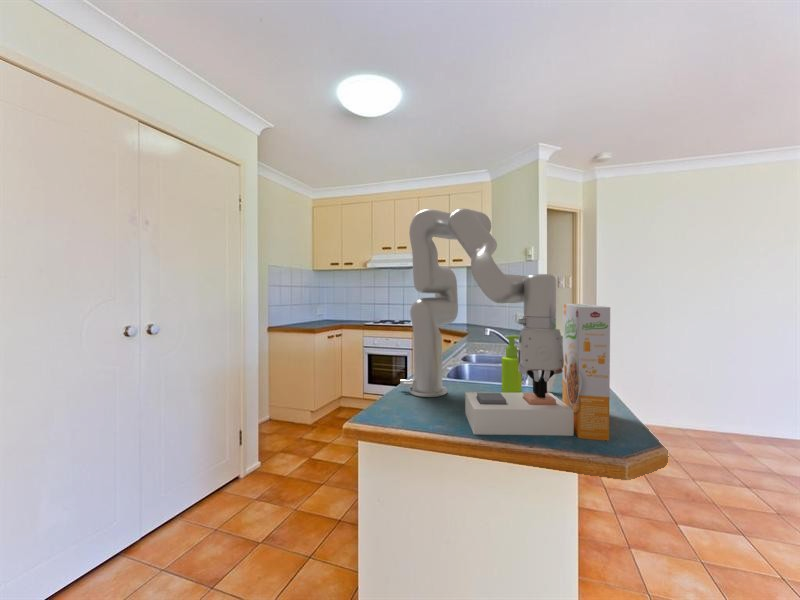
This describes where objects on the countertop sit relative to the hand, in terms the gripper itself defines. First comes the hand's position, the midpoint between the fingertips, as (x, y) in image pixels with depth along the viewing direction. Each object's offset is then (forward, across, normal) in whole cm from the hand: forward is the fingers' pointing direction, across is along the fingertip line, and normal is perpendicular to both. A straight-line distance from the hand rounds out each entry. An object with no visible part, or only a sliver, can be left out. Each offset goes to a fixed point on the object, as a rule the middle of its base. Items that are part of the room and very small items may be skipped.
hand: (539, 396), depth 90 cm
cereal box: (+8, +12, +2) cm, 14 cm away
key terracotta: (+4, 0, 0) cm, 4 cm away
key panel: (+7, -6, 0) cm, 10 cm away
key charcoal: (+4, -12, 0) cm, 13 cm away
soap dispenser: (+7, -1, +20) cm, 22 cm away
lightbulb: (+7, +13, +29) cm, 33 cm away
